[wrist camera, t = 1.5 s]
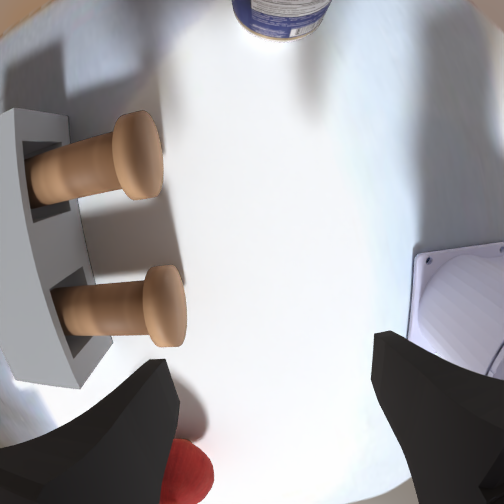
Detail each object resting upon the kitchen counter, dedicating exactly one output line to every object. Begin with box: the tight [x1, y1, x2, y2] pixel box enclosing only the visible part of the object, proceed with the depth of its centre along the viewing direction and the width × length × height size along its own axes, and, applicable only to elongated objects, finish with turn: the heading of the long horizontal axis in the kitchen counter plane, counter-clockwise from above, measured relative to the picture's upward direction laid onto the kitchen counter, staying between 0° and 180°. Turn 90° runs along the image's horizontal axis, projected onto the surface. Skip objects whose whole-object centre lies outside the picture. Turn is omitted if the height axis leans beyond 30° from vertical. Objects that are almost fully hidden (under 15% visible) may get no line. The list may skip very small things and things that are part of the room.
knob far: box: [50, 265, 187, 347], centre depth 17 cm, size 8×4×4 cm, turn 97°
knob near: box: [24, 110, 163, 209], centre depth 15 cm, size 8×4×4 cm, turn 97°
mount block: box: [0, 108, 113, 389], centre depth 16 cm, size 6×16×6 cm, turn 7°
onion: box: [159, 439, 214, 504], centre depth 20 cm, size 6×6×8 cm
